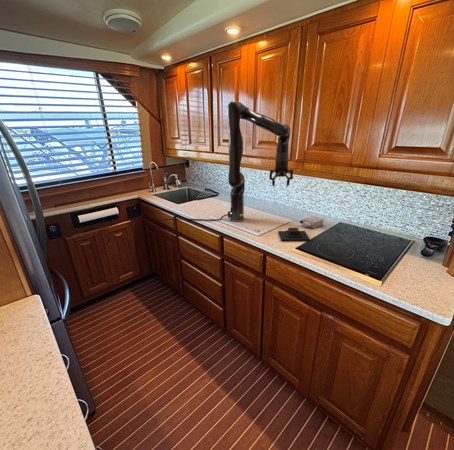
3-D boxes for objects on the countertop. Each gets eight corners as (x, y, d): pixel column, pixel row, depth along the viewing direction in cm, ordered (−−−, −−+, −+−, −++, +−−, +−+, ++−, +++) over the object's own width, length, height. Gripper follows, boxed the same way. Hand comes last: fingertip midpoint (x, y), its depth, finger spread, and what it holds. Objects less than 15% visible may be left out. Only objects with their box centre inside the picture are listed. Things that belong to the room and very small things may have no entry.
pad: (289, 236, 138) (289, 231, 137) (287, 233, 143) (288, 227, 142) (299, 236, 138) (299, 231, 137) (297, 233, 143) (297, 227, 142)
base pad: (281, 241, 136) (281, 237, 135) (278, 232, 147) (278, 229, 146) (309, 241, 135) (310, 237, 134) (304, 232, 146) (304, 229, 146)
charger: (297, 227, 155) (311, 221, 163) (308, 231, 148) (322, 225, 156) (297, 220, 153) (311, 215, 161) (309, 224, 146) (323, 218, 154)
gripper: (292, 158, 147) (290, 184, 153) (269, 159, 148) (268, 185, 154) (294, 160, 140) (293, 187, 146) (270, 160, 141) (269, 187, 147)
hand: (280, 186), depth 150 cm, fingers open, 8 cm apart
